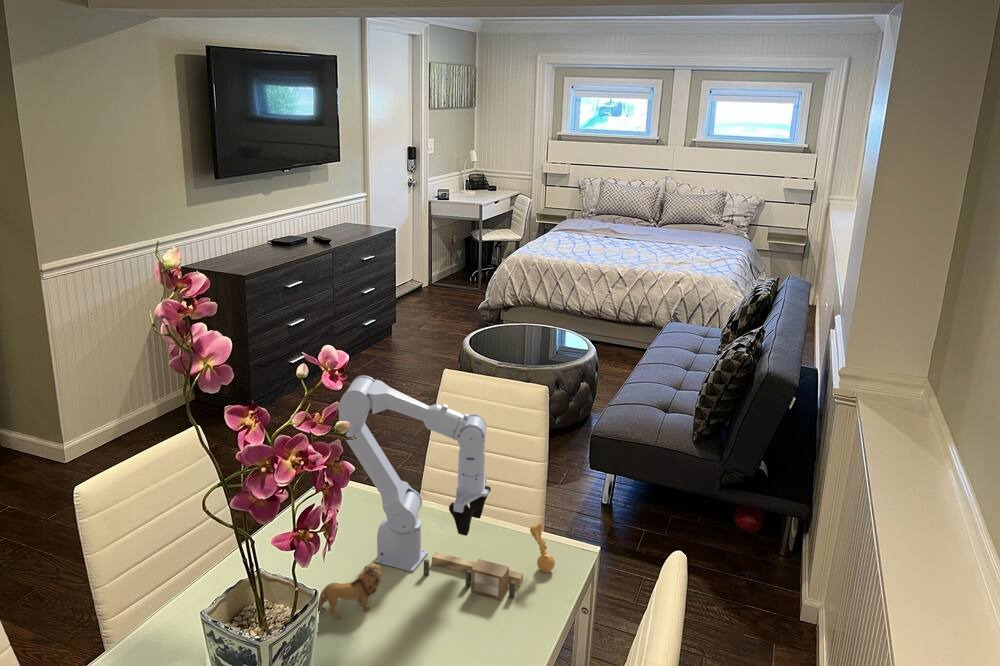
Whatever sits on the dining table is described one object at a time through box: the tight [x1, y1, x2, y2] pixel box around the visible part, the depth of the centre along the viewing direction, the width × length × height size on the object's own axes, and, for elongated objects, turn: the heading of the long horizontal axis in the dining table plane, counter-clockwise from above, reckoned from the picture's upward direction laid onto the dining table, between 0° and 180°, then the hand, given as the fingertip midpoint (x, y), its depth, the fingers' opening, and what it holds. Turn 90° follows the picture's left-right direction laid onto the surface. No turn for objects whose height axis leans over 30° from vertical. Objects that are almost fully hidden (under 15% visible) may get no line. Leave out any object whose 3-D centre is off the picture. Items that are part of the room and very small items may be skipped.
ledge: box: [423, 551, 524, 599], centre depth 171 cm, size 21×7×4 cm, turn 70°
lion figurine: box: [317, 563, 383, 620], centre depth 159 cm, size 15×5×9 cm, turn 119°
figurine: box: [529, 523, 556, 573], centre depth 174 cm, size 8×6×12 cm
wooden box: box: [470, 558, 510, 602], centre depth 167 cm, size 7×4×6 cm, turn 69°
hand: (469, 525), depth 174 cm, fingers open, 7 cm apart
